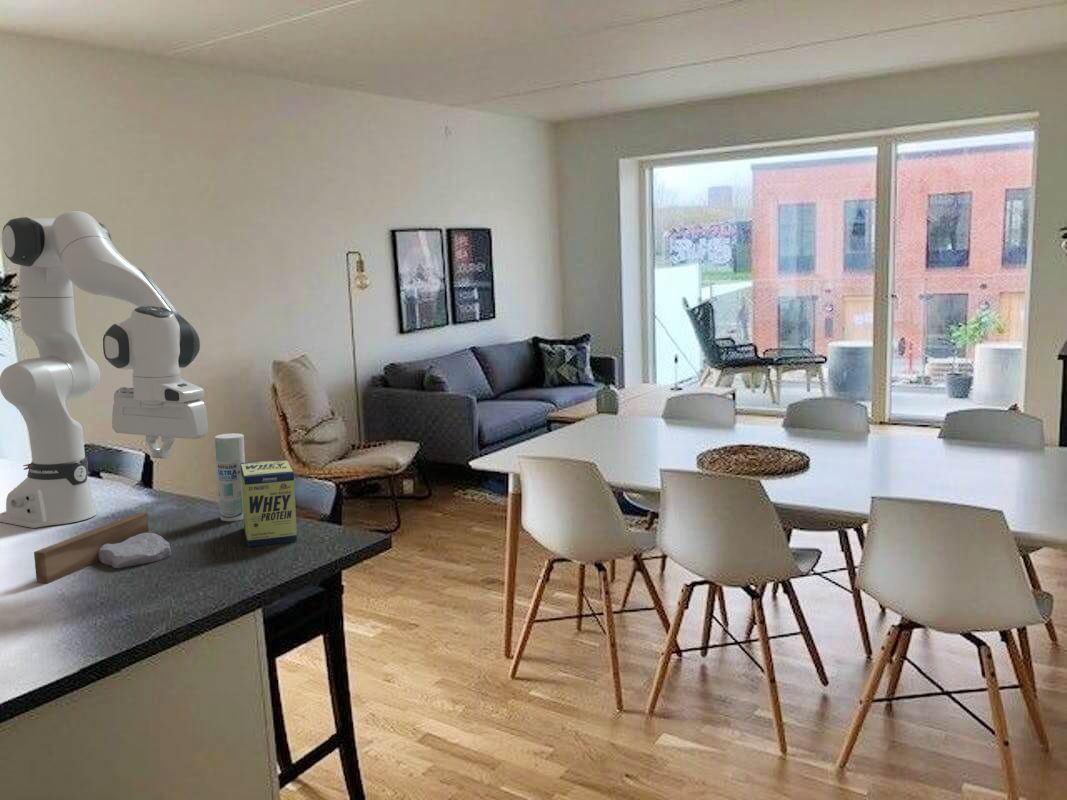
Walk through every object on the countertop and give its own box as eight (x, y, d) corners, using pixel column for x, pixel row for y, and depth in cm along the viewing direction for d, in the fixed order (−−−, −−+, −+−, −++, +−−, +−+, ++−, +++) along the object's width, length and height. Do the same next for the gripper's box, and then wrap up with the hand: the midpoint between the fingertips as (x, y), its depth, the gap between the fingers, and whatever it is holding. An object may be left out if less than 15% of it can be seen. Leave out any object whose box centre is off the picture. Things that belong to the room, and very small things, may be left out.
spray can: (215, 521, 203) (210, 438, 200) (225, 513, 210) (221, 433, 207) (242, 521, 203) (237, 438, 200) (252, 513, 209) (247, 433, 207)
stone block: (176, 564, 179) (151, 546, 185) (177, 543, 178) (151, 526, 183) (120, 582, 170) (95, 563, 175) (120, 560, 168) (95, 541, 174)
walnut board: (36, 582, 163) (33, 551, 162) (139, 538, 190) (137, 512, 189) (47, 583, 162) (44, 553, 162) (149, 539, 189) (147, 513, 188)
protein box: (247, 547, 184) (243, 476, 181) (243, 528, 198) (239, 462, 196) (298, 541, 187) (294, 472, 185) (289, 523, 202) (286, 458, 200)
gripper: (102, 388, 170) (106, 456, 172) (190, 394, 164) (193, 464, 167) (125, 384, 176) (128, 450, 178) (211, 390, 170) (214, 458, 173)
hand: (160, 457), depth 172 cm, fingers closed
